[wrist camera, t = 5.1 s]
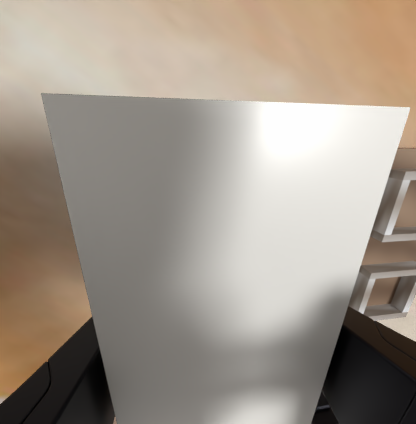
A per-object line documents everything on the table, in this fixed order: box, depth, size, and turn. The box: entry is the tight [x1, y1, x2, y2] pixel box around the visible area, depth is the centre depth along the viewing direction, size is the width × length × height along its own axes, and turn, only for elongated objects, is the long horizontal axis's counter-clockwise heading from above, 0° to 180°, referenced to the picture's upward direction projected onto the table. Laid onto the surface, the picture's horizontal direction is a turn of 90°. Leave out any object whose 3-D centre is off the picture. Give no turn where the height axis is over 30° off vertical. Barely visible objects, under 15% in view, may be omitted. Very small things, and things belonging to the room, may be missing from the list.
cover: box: [41, 93, 410, 424], centre depth 7 cm, size 13×6×4 cm, turn 0°
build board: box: [348, 148, 416, 321], centre depth 24 cm, size 22×11×2 cm, turn 0°
